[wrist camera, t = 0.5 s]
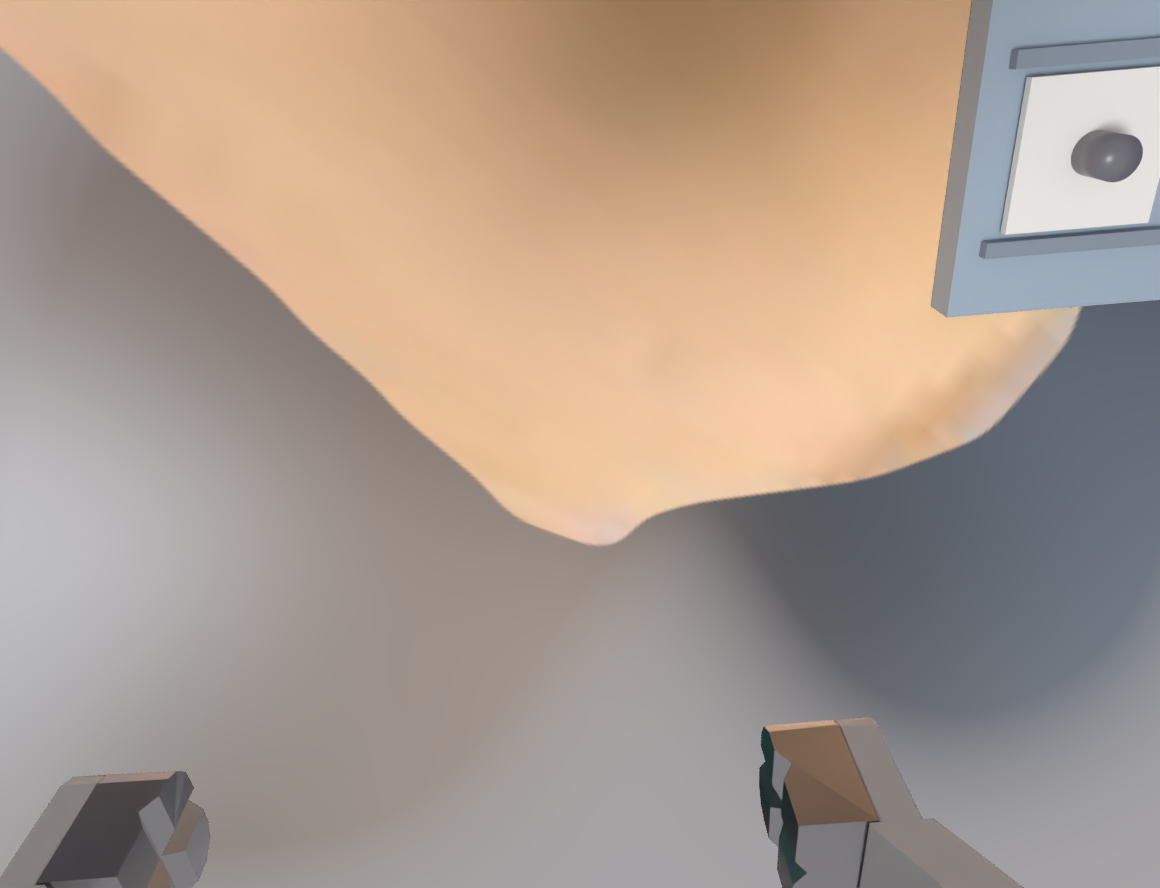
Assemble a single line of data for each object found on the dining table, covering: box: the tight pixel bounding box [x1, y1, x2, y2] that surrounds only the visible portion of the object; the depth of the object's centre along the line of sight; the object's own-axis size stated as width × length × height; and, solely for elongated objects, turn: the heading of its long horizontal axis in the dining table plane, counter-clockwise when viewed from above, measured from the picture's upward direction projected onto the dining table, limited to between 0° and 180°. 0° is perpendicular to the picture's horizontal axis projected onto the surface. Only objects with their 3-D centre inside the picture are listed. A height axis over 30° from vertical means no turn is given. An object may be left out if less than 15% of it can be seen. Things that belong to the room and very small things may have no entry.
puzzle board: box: [931, 0, 1160, 317], centre depth 49 cm, size 20×22×3 cm
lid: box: [1000, 66, 1160, 235], centre depth 46 cm, size 9×9×3 cm
